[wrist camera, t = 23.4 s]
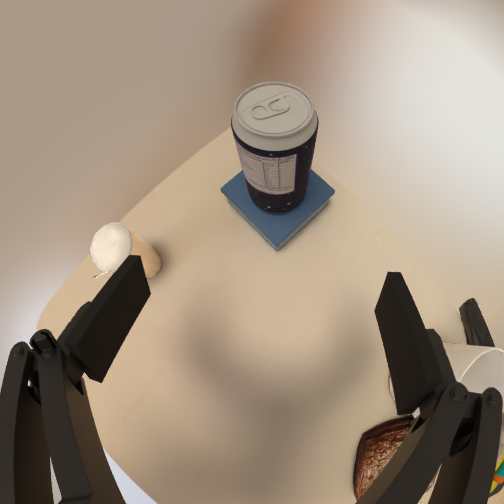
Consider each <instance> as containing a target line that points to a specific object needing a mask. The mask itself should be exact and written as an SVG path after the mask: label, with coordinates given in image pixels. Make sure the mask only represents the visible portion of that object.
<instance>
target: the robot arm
mask: <svg viewBox="0 0 504 504" xmlns="http://www.w3.org/2000/svg"><path fill="white" fill-rule="evenodd" d="M150 295H151V292H150V289H149V285H148V282H147V278H146V274H145V271H144V267H143V263H142V259H141V256H140V255H129V256H128V257H127V258H126V259H125V260H124V262H123V263H122V264H121V265H120V266H119V268H118V269H117V270H116V271H115V272H114V274H113V275H112V276H111V277H110V279H109V280H108V281H107V283H106V284H105V285H104V286H103V288H102V289H101V290H100V292H99V293H98V294H97V295H96V297H95V298H94V299H93V301H92V302H89V301H88V302H87V303H85V304H84V305H83V306H81V307H80V309H79V310H78V311H77V313H76V314H75V316H74V317H73V318H72V319H71V322H69V323H68V325H67V326H66V328H65V329H64V330H63V332H62V333H61V335H60V336H59V338H58V339H57V341H56V339H55V338H54V336H53V335H52V333H51V332H50V331H49V330H47V329H42V330H39V331H37V332H36V333H35V334H34V335H33V336H32V338H31V339H30V343H29V344H30V345H31V347H32V348H33V349H30V347H29V346H28V344H27V343H25V342H18V343H17V344H15V345H14V346H13V348H12V349H11V351H10V355H9V358H8V362H7V366H6V370H5V374H4V378H3V383H2V388H1V392H0V504H54V500H53V493H52V482H51V471H50V470H51V469H50V457H51V461H52V465H53V469H54V473H55V476H56V480H57V483H58V486H59V489H60V492H61V496H62V500H61V501H60V502H59V503H58V504H126V503H125V501H124V499H123V497H122V494H121V492H120V490H119V488H118V486H117V483H116V481H115V479H114V476H113V474H112V472H111V469H110V466H109V464H108V461H107V459H106V456H105V453H104V450H103V447H102V445H101V442H100V439H99V435H98V432H97V429H96V426H95V422H94V419H93V415H92V412H91V408H90V404H89V400H88V396H87V391H86V387H85V382H84V379H83V377H82V375H83V373H84V372H85V373H86V375H87V376H88V377H89V379H92V380H94V381H97V382H100V383H102V382H103V380H104V378H105V376H106V374H107V372H108V370H109V368H110V366H111V364H112V362H113V360H114V358H115V357H116V355H117V353H118V351H119V349H120V347H121V345H122V344H123V342H124V340H125V338H126V336H127V335H128V333H129V331H130V329H131V327H132V326H133V324H134V322H135V320H136V319H137V317H138V315H139V314H140V312H141V310H142V308H143V307H144V305H145V303H146V302H147V300H148V298H149V297H150ZM375 315H376V319H377V322H378V326H379V330H380V334H381V337H382V341H383V345H384V350H385V354H386V358H387V362H388V367H389V372H390V376H391V381H392V386H393V391H394V397H395V402H396V408H397V414H398V415H406V414H412V413H414V412H415V411H416V410H417V409H418V407H419V410H420V414H419V415H418V416H417V417H416V418H415V419H414V420H413V421H412V422H411V423H410V425H412V424H413V423H414V424H413V425H412V427H411V429H410V430H409V432H408V434H407V435H406V437H405V438H404V440H403V442H402V443H401V445H400V446H399V448H398V449H397V451H396V452H395V454H394V455H393V457H392V458H391V459H390V461H389V462H388V464H387V465H386V466H385V468H384V469H383V470H382V472H381V473H380V474H379V476H378V477H377V478H376V480H375V481H374V482H373V483H372V485H371V486H370V487H369V488H368V489H367V491H366V492H365V493H364V494H363V495H362V497H361V498H360V499H359V500H358V501H357V502H356V503H355V504H417V503H418V502H419V500H420V499H421V497H422V496H423V494H424V493H425V491H426V490H427V488H428V486H429V485H430V483H431V481H432V480H433V478H434V476H435V474H436V473H437V471H438V469H439V467H440V465H441V463H442V465H441V468H440V471H439V474H438V477H437V480H436V483H435V486H434V489H433V492H432V495H431V497H430V500H429V502H428V504H487V501H488V498H489V494H490V491H491V487H492V483H493V478H494V474H495V469H496V463H497V458H498V451H499V444H500V436H501V426H502V411H503V399H502V396H501V393H500V392H499V391H498V390H497V389H496V388H494V387H489V388H487V389H486V390H485V391H484V392H483V393H482V394H481V393H475V392H469V391H468V390H467V388H466V386H464V385H463V384H462V383H460V382H457V381H456V378H455V375H454V372H453V370H452V367H451V364H450V361H449V358H448V356H447V355H446V350H445V348H444V347H443V346H444V345H443V343H442V340H441V338H440V336H439V335H438V334H437V333H436V331H435V330H434V329H425V326H424V324H423V321H422V319H421V316H420V314H419V312H418V309H417V307H416V305H415V302H414V300H413V298H412V296H411V294H410V291H409V289H408V287H407V285H406V283H405V281H404V279H403V276H402V274H401V272H388V273H387V276H386V279H385V282H384V285H383V288H382V291H381V294H380V297H379V300H378V302H377V305H376V308H375ZM28 380H29V381H30V382H31V383H30V386H28Z"/></svg>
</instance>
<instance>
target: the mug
mask: <svg viewBox="0 0 504 504" xmlns="http://www.w3.org/2000/svg"><path fill="white" fill-rule="evenodd" d="M443 345H444V346H443V347H444V348H445V350H446V355H447V356H448V358H449V361H450V364H451V367H452V370H453V372H454V375H455V378H456V381H457V382H460V383H462V384H463V385H464V386H466V388H467V390H468V391H469V392H475V393H481V394H482V393H483V392H484V391H485V390H486V389H487V388H489V387H494V388H496V389H497V390H498V391H499V392H500V393H501V396H502V399H503V411H504V351H503V350H502V349H500V348H497V347H485V346H473V345H461V344H451V343H443ZM389 384H390V392H391V395H392V397H393V399H394V401H395V397H394V391H393V386H392V381H391V376H390V382H389ZM503 411H502V413H503ZM419 414H420V410H419V407H418V409H417V410H416V411H415V412H414V413H412V415H413V416H414V418H416V417H417V416H418V415H419Z"/></svg>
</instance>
